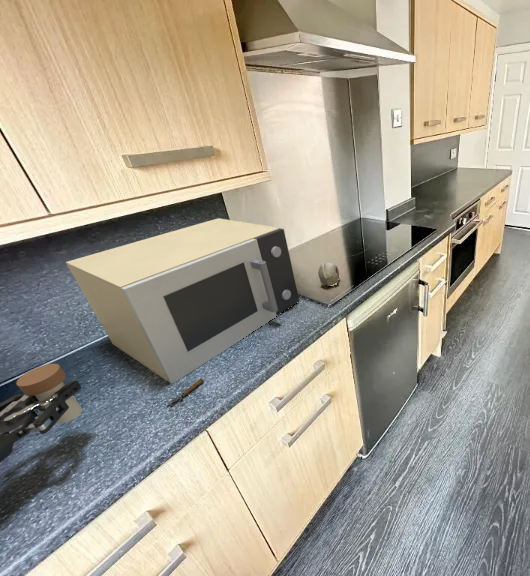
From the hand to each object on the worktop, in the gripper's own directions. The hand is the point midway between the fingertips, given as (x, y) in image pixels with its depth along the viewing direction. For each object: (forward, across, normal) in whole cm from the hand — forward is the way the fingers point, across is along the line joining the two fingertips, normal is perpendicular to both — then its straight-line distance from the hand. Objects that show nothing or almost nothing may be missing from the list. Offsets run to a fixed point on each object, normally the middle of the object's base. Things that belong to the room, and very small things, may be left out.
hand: (67, 383), depth 63 cm
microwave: (+40, -1, +13) cm, 42 cm away
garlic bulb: (+68, -33, +13) cm, 76 cm away
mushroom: (-3, 0, +6) cm, 7 cm away
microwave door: (+27, -16, +12) cm, 34 cm away
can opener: (+10, -14, +13) cm, 21 cm away
